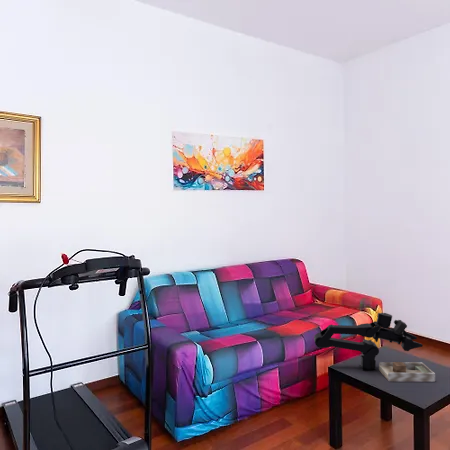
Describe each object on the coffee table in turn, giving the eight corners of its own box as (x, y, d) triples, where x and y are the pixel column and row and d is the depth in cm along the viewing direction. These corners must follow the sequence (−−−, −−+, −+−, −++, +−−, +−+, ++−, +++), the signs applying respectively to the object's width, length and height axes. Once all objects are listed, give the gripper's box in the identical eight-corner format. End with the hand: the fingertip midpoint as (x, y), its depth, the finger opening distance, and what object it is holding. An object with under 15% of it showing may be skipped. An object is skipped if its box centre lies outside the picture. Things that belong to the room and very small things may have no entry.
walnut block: (396, 374, 193) (396, 365, 193) (392, 370, 198) (392, 362, 197) (405, 374, 193) (406, 365, 193) (401, 370, 198) (402, 362, 197)
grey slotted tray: (388, 381, 192) (389, 373, 192) (378, 369, 205) (378, 362, 205) (434, 381, 192) (435, 373, 191) (421, 370, 205) (422, 362, 204)
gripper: (396, 326, 194) (429, 334, 192) (387, 313, 212) (417, 320, 210) (391, 348, 196) (424, 355, 194) (382, 333, 214) (412, 340, 212)
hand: (419, 341), depth 202 cm, fingers open, 9 cm apart
